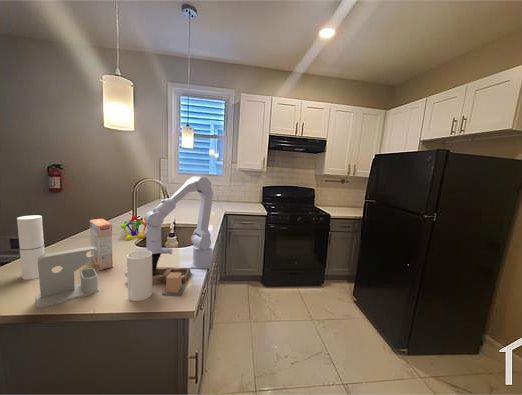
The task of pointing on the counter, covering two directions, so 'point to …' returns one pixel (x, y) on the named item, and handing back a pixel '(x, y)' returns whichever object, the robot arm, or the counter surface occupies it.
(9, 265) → the counter surface
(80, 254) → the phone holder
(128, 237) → the educational toy
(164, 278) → the wooden grid frame
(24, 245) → the cylindrical container
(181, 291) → the pad
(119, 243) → the counter surface
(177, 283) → the block
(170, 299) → the counter surface
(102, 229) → the cracker box
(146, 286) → the cup
